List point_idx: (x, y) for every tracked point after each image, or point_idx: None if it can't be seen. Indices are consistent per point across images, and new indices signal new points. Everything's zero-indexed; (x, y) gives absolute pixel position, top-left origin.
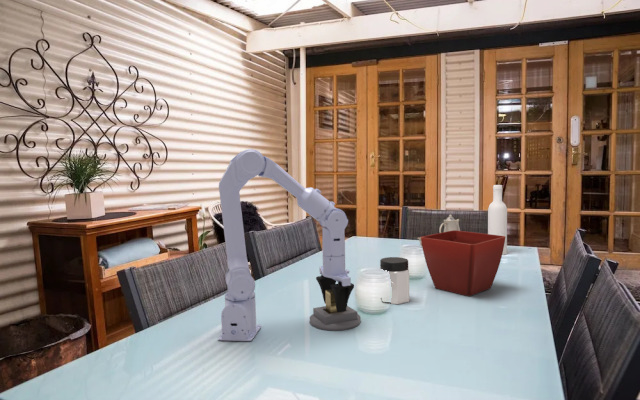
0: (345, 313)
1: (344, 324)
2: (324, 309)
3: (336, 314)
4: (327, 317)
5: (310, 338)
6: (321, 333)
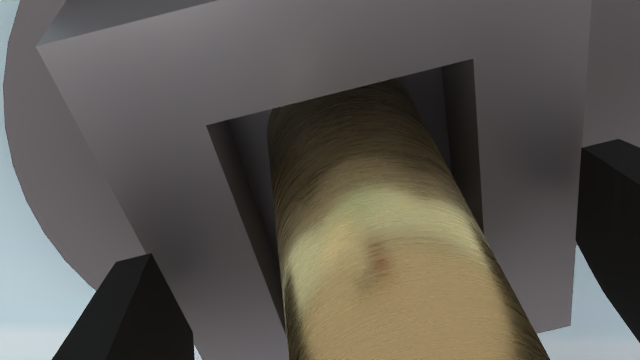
0: (570, 113)
1: (609, 95)
2: (281, 312)
3: (547, 222)
4: (568, 304)
5: (631, 335)
6: (585, 270)
